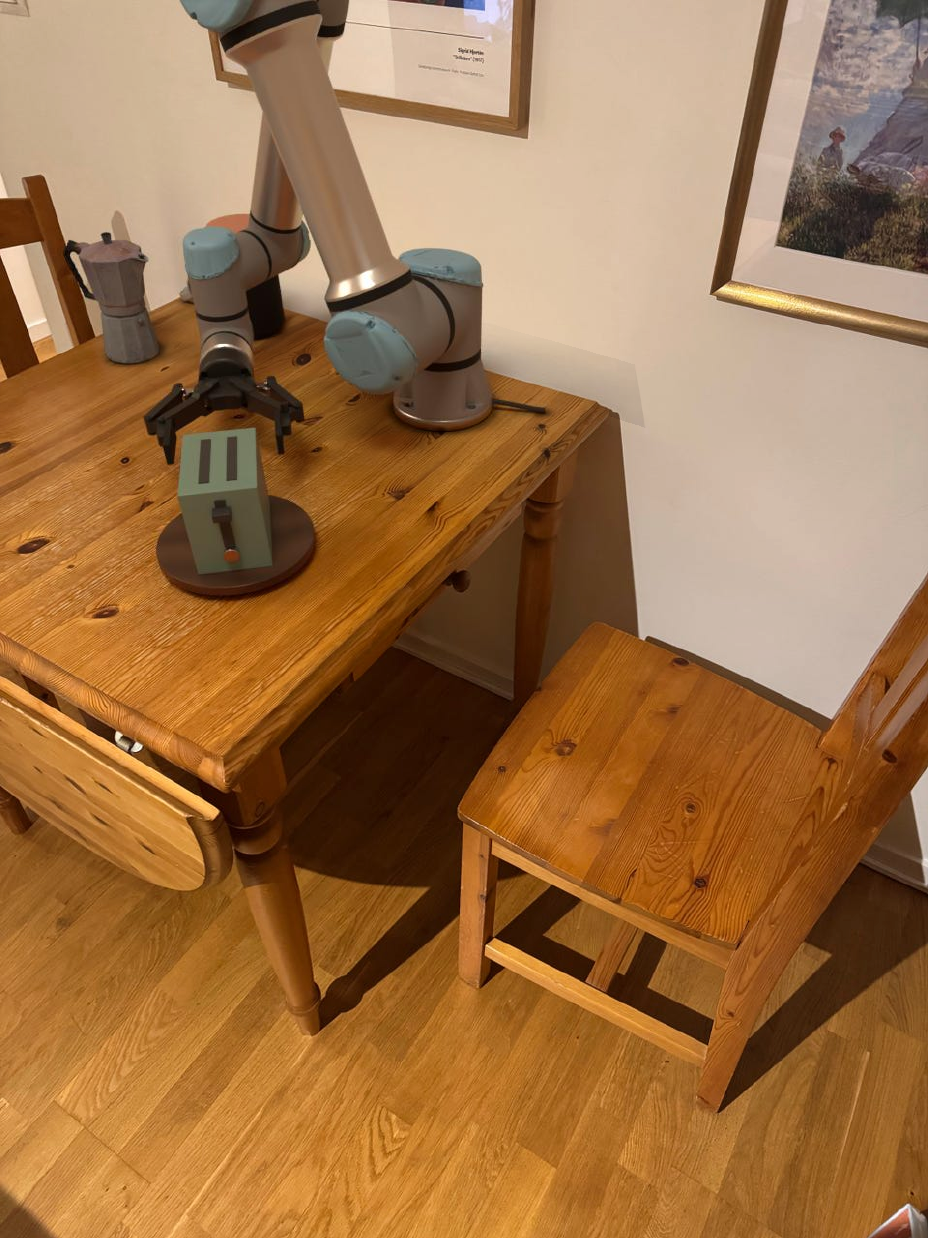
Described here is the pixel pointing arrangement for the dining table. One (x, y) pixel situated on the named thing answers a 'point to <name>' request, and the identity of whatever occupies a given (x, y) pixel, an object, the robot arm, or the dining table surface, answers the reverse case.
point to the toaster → (230, 520)
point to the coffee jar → (258, 289)
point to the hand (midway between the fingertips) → (224, 450)
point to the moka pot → (117, 295)
